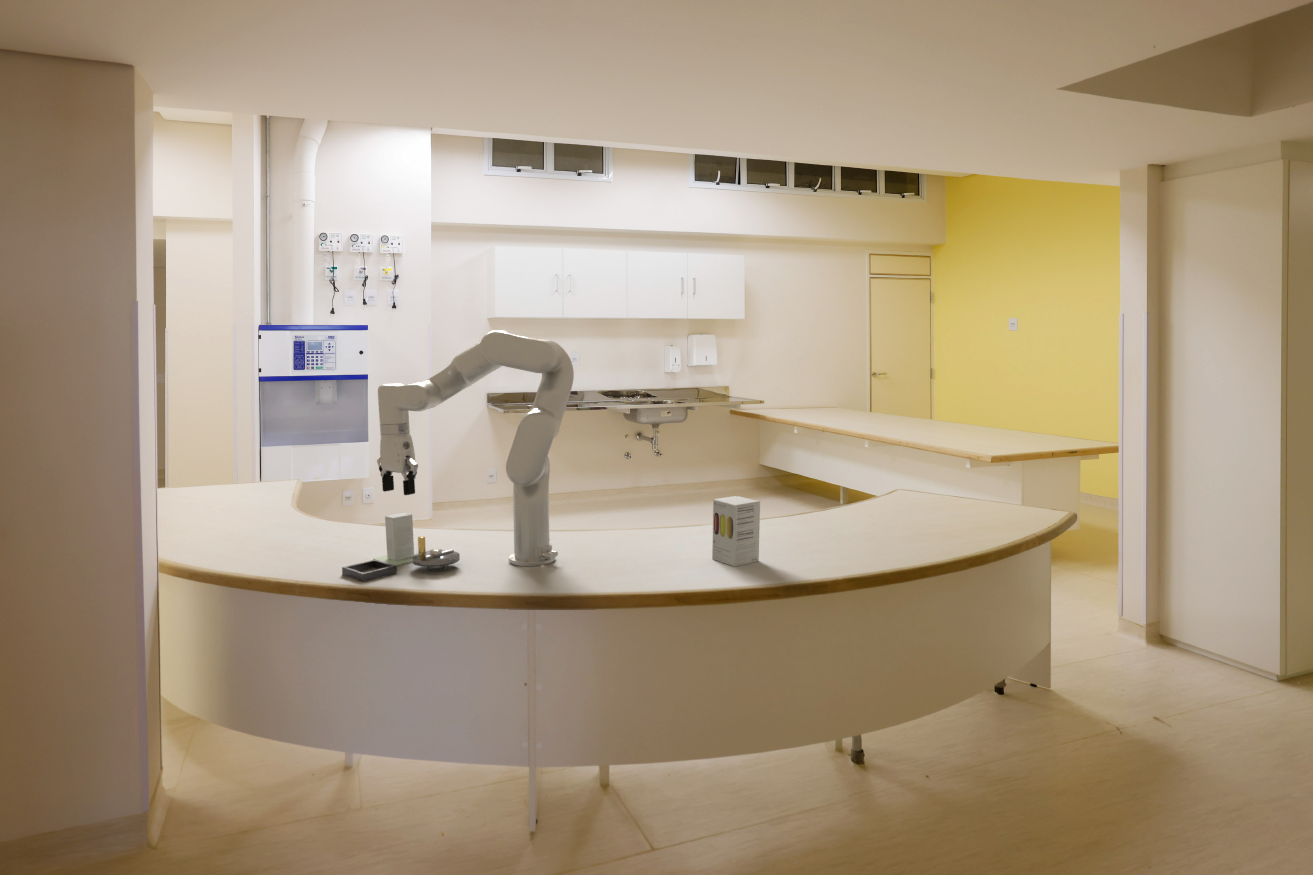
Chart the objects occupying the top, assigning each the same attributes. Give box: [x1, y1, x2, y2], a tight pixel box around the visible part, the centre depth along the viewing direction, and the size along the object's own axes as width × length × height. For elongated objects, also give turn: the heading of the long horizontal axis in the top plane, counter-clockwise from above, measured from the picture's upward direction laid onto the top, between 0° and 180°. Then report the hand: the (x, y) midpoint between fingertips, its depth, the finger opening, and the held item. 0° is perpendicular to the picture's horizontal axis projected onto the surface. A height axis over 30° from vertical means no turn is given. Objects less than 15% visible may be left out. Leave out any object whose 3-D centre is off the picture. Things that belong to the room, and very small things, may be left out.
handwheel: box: [411, 536, 461, 568], centre depth 216 cm, size 12×12×7 cm
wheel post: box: [426, 565, 447, 572], centre depth 217 cm, size 5×5×2 cm
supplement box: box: [711, 495, 761, 567], centre depth 224 cm, size 10×9×17 cm
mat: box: [372, 553, 417, 566], centre depth 226 cm, size 10×10×1 cm
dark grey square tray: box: [341, 559, 398, 583], centre depth 212 cm, size 10×10×2 cm
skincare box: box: [384, 512, 415, 561], centre depth 225 cm, size 6×4×12 cm
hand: (398, 492), depth 223 cm, fingers open, 9 cm apart
